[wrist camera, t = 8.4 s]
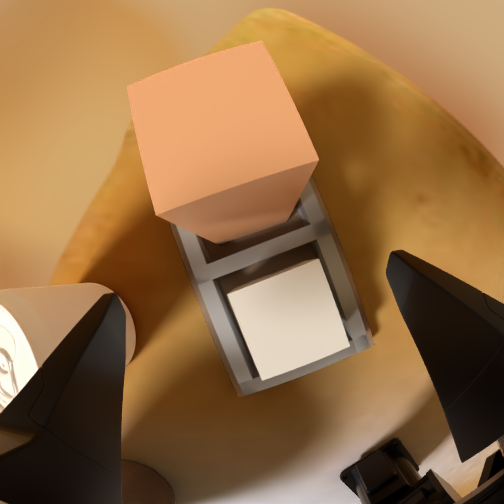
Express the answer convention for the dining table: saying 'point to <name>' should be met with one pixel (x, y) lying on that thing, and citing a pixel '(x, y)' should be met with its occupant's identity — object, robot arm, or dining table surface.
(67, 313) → the beverage can
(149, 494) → the plant pot
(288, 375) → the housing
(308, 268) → the cream white block
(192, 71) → the jaw tall
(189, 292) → the dining table surface
